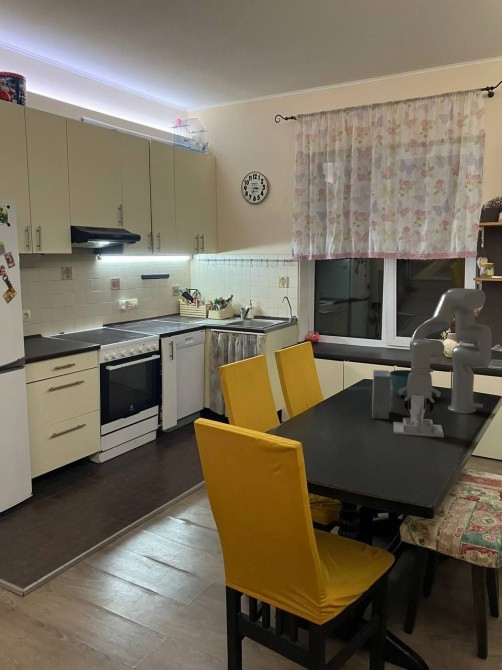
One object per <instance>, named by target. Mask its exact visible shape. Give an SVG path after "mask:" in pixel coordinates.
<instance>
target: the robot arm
mask: <svg viewBox="0 0 502 670" xmlns="http://www.w3.org/2000/svg"><path fill="white" fill-rule="evenodd" d="M485 302H486V293H485V291H484V290H482V289H480V288H466V287H465V288H464V287H463V288H461V287H455V288H449V289H448V290H446V291H445V292H443V293H442V295H440V298H439V300H438V303H437V305H436V307H435V310H434V312H433V314H432V317H430V318H429V319H428V320H426V321H424V322H423V323H422V324H420V325H419V326H418V327H417V328H416V329H415V331H414V332H413V335H412V337H411V340H410V342H409V351H410V352H411V353H410V354H411V363H410V364H411V365H410V370H411V373H409V376H408V382H407V386H406V387H404V388H401V389H399V390H398V392H399V394H400V396H401V397H400V396H399V397H400V398H401V399H402V400H403V401H404V409H405V411H408V410H409V398H410V397H412V395H423V397H424V398H426V399H428V400H429V406H428V407H429V412H430V413H432V411H433V410H434V403H435V402H436V401H437V400H439V397H440V396H441V394H442V392H441V391H439V389H436V388H434V387H433V377H432V373H433V372H434V368H431V358H432V359H433V358H435V359H436V358H440V357H441V356H442V355H443V354H444V353H445V345H444V343H443V342H442V341H440V340H437V339H430V338H426V337H427V336H429V335H430V334H433V333H436V332H439V331H442V330H445V329H447V328H450V327H451V326H452V322H453V320H454V319H455V327H454V328H455V331H454V332H455V333H454V334H455V340H456V341H457V342H459V343H461V344H460V345H456V346H455V347H453V348H452V350H451V361H452V383H451V385H452V387H451V403H450V405H448V406H447V410H448V411H449V412H453V413H455V414H456V413H457V414H473V412H474V413H475V412H476V408H477V409H483V408H484V404H482V403H479V402H478V403H477V402H476V403H475V402H474V401H473V400H474V384H475V383H474V382H475V381H474V380H475V374H474V372H473V371H474V370H472V368H471V367H474V368H479V369H480V368H481V369H483V368H484V369H485V368H488V367H489V366H490V365H491V361H492V339H493V338H492V337H493V336H492V329H491V328H490V326H488V325H487V324H482V323H480V324H479V323H476V320H475V319H476V313H475V311H476V310H479V309H481V308H482V307H483V306H484V305H485ZM465 344H468V345H465ZM470 344H471V345H470ZM473 345H477V346H473ZM405 390H407V395H406V396H404V395H403V393H402V392H403V391H405ZM433 393H434V394H436V395H435V396H433Z"/></svg>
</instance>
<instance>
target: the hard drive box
mask: <svg viewBox="0 0 502 670" xmlns="http://www.w3.org/2000/svg"><path fill="white" fill-rule="evenodd" d="M372 371H373V373H372V402H371V403H372V405H371V418H372V419H382V420H389V419H390V401H391V400H390V397H391V376H390V372H391V371H390V370H384V369H382V370H380V369H379V370H378V369H373V370H372Z"/></svg>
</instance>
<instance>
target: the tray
mask: <svg viewBox="0 0 502 670" xmlns="http://www.w3.org/2000/svg"><path fill="white" fill-rule="evenodd" d="M433 423H434V422H433V420H432V419H428V418H426V419H425V418H423V425H424V426H421V420H417V425H416V426H412V425H409V424H410V417H403V418H402V422H401V421H393V434H394V435H404V436H405V435H407V436H408V435H409V436H421V437H432V438H433V437H434V438H435V437H436V438H444V437H445V433H444V430H443V427H442V425H441V424H433Z"/></svg>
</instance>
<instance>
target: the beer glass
mask: <svg viewBox="0 0 502 670" xmlns="http://www.w3.org/2000/svg"><path fill="white" fill-rule="evenodd" d="M426 407H427V398H424V397H423V395H412V397H410V398H409V399H408V410H409V418H410V424H409V425H412V426H416V425H417V420H421V426H424V425H423V419H424V417H425V413H426Z"/></svg>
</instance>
